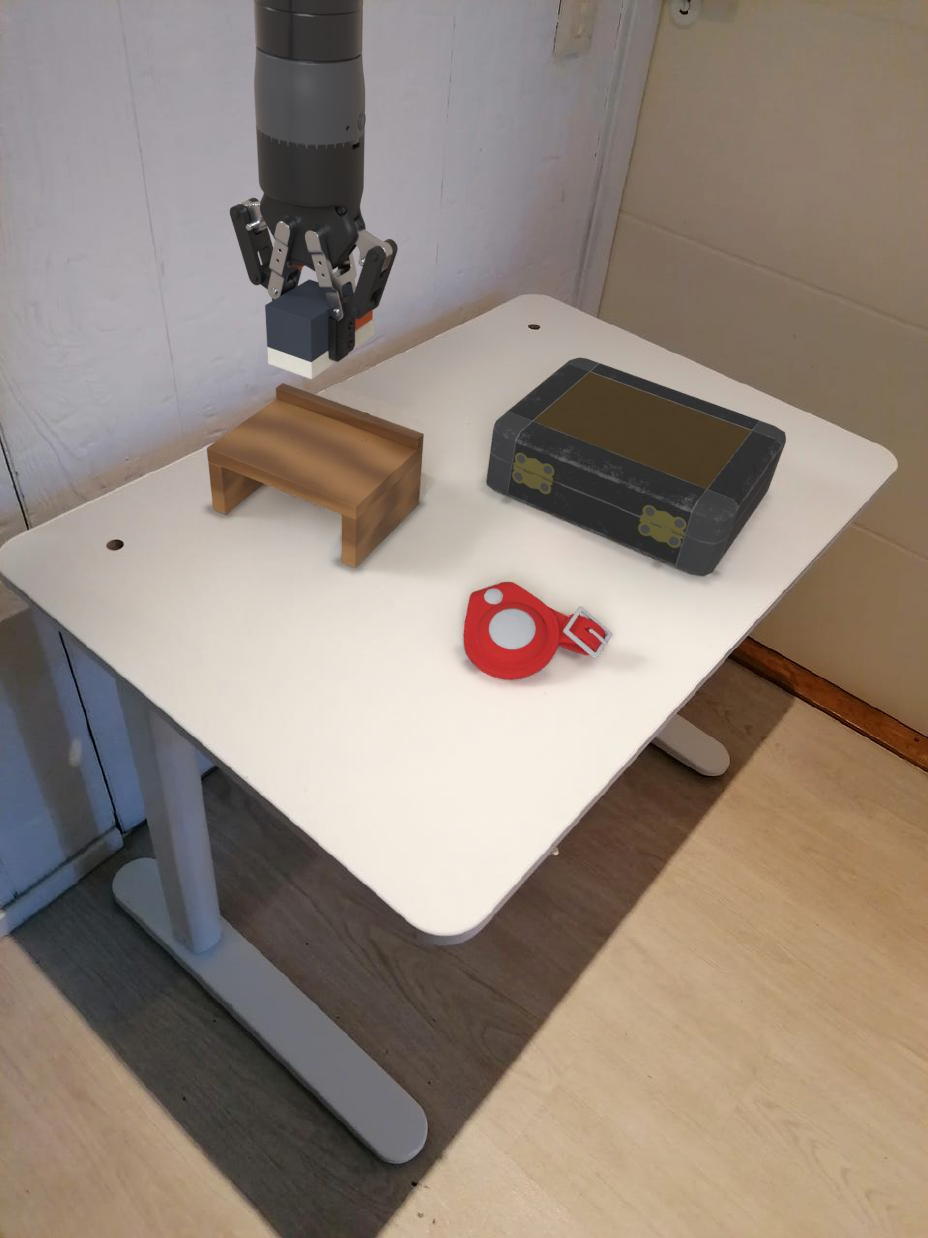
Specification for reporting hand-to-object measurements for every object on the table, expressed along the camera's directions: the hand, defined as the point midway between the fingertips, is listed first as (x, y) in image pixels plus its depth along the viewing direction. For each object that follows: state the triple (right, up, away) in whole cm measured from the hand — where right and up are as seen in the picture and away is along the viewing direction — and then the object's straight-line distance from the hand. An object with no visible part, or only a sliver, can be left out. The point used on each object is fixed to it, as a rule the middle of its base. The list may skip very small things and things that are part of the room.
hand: (314, 347), depth 79 cm
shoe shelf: (-2, -11, +16) cm, 20 cm away
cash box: (+30, -9, +23) cm, 39 cm away
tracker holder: (+18, -25, +4) cm, 31 cm away
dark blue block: (+1, 0, +1) cm, 1 cm away
